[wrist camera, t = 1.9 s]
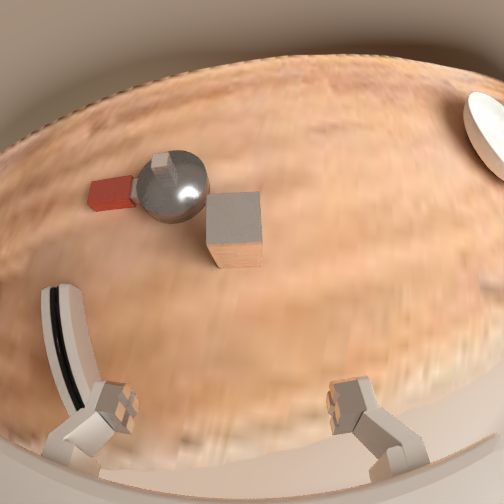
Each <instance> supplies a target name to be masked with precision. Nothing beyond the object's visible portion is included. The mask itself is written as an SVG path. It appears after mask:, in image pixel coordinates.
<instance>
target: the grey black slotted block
mask: <svg viewBox="0 0 504 504" xmlns="http://www.w3.org/2000/svg"><path fill="white" fill-rule="evenodd" d="M41 317H42V327H43V335H44V341H45V347H46V352H47V356H48V360H49V364H50V368H51V372H52V375H53V378H54V381H55V384H56V387H57V389H58V392H59V395H60V397H61V399H62V402H63V404H64V406H65V408H66V410H67V413H68V414H69V416H70V417H71V416H72V415H74V414H75V413H76V412H77V411H79V410H80V409H81V408H85V406H86V403H87V400H88V398H89V395H90V393H91V390H92V388H93V386H94V383H95V382H96V381H97V380H101V376H100V373H99V369H98V366H97V362H96V358H95V355H94V351H93V347H92V342H91V338H90V334H89V329H88V324H87V320H86V314H85V309H84V304H83V298H82V291H81V290H80V289H78V288H77V287H75V286H73V285H71V284H64V283H60V284H59V286H58V287H57V288H55V287H53V286H48V287H46V288H44V289H42V291H41Z"/></svg>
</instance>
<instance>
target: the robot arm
mask: <svg viewBox="0 0 504 504" xmlns="http://www.w3.org/2000/svg"><path fill="white" fill-rule="evenodd" d="M329 388H330V391H329V392H328V393H327V410H328V413H329V414H330V415H331V416H332V417H331V420H330V425H331V430H332V435H337V434H344V433H350V432H353V434H354V435H355V436H356V437H357V438H358V439H359V440H360V442H362V443H363V445H364V446H365V447H366V448H367V449H368V450H369V451H370V452H371V453H372V454H373V455H374V456H375V457H376V458H377V459H378V461H377V462H376V463H375V464H374V465H373V466H372V467H371V468H370V470H369V474H370V479H371V483H369V484H365V485H360V486H356V487H351V488H347V489H342V490H336V491H331V492H325V493H318V494H311V495H303V496H294V497H282V498H265V499H223V498H205V497H194V496H185V495H177V494H169V493H163V492H157V491H151V490H146V489H141V488H137V487H132V486H127V485H124V484H119V483H116V482H112V481H108V480H105V479H101V478H98V475H99V471H100V467H101V466H100V464H99V463H98V462H96V461H95V460H94V459H92V457H93V456H94V455H95V454H96V453H97V452H98V451H99V450H100V449H101V448H102V447H103V446H104V445H105V443H106V442H107V441H108V440H109V439H110V438H111V437H112V436H113V435H114V434H115V432H121V433H127V434H132V433H133V429H134V425H135V420H134V418H133V417H134V416H135V415H136V414H137V413H138V409H139V401H138V397H137V396H136V394H135V393H133V392H132V391H131V390H132V388H131V386H130V385H129V384H126V383H118V382H111V381H105V380H97V381H96V382H95V383H94V386H93V388H92V390H91V393H90V395H89V398H88V400H87V403H86V406H85V408H81V409H80V410H79V411H77V412H76V413H75V414H74V415H72V416H71V417H70V418H68V419H67V420H66V421H65V422H63V423H62V424H61V425H60V426H58V427H57V428H56V429H54V430H53V431H52V432H51V433H49V436H48V438H47V441H46V444H45V446H44V449H43V452H42V455H41V456H40V455H38V454H36V453H34V452H31V451H29V450H27V449H25V448H23V447H21V446H19V445H18V444H16V443H14V442H12V441H10V440H8V439H7V438H5V437H3V436H1V435H0V504H504V436H503V435H501V434H499V433H493V434H490V435H488V436H487V437H485V438H483V439H481V440H479V441H477V442H476V443H474V444H472V445H470V446H468V447H466V448H464V449H462V450H460V451H458V452H455V453H453V454H451V455H449V456H447V457H445V458H442V459H440V460H437V461H435V462H433V463H430V461H429V458H428V455H427V452H426V449H425V446H424V443H423V441H422V437H420V436H419V435H418V434H416V433H415V432H414V431H412V430H411V429H410V428H409V427H407V426H406V425H405V424H403V423H402V422H401V421H399V420H398V419H397V418H395V417H394V416H393V415H392V414H390V413H389V412H388V411H386V410H385V409H384V408H379V405H378V402H377V399H376V396H375V393H374V390H373V387H372V384H371V382H370V379H369V377H368V376H361V377H356V378H355V377H354V378H348V379H343V380H336V381H331V382H330V385H329Z"/></svg>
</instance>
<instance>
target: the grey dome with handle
mask: <svg viewBox="0 0 504 504" xmlns="http://www.w3.org/2000/svg"><path fill="white" fill-rule="evenodd" d="M207 194H210V183H209V179H208V176H207V173H206V169H205V166H204V164H203V163H202V161H201V160H200V159H199V158H198V157H197V156H195V155H194V154H192V153H190V152H186V151H179V150H177V151H169V152H165V153H158V154H153V157H152V160H151V161H149V162H148V163H147V164H146V165H145V167H144V168H143V169H142V171H141V173H140V175H139V177H138V178H133V176H132V175H130V176H123V177H117V178H110V179H104V180H98V181H93V182H91V187H90V192H89V197H88V202H87V204H88V205H89V206H90V207H91V208H92V209H94V210H95V211H96V212H97V211H105V210H113V209H122V208H131V207H136V205H140V204H142V205H143V206H144V208H145V209H146V210H147V211H148V213H149V214H150V215H151V216H152V217H153V218H155V219H156V220H158V221H160V222H163V223H169V224H174V223H180V222H184V221H186V220H189V219H190V218H192V217H194V216H195V215H196V214H198V213H199V212H200V211H201V210H202V208H203V207H204V206H205V204H206V201H207Z"/></svg>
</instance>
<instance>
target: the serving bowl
mask: <svg viewBox="0 0 504 504" xmlns="http://www.w3.org/2000/svg"><path fill="white" fill-rule="evenodd" d="M463 118H464V125H465V129H466V132H467V134H468V137H469V139H470V141H471V143H472V145H473V147H474V149H475V150H476V152H477V153H478V155H479V156H480V158H481V159H482V161H483V162H484V163H485V164H486V166H487V167H488V168H489V169H490V170H491V171H492V172H493V173H494V174H495V175H496V176H498V177H499V178H500V179H502V180H503V181H504V107H503V106H502V105H501V104H500V103H499V102H497V101H496V100H495V99H493V98H492V97H490V96H488V95H486V94H484V93H481V92H472V93H470V94H469V96H468V98H467V100H466V102H465V105H464V110H463Z"/></svg>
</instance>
